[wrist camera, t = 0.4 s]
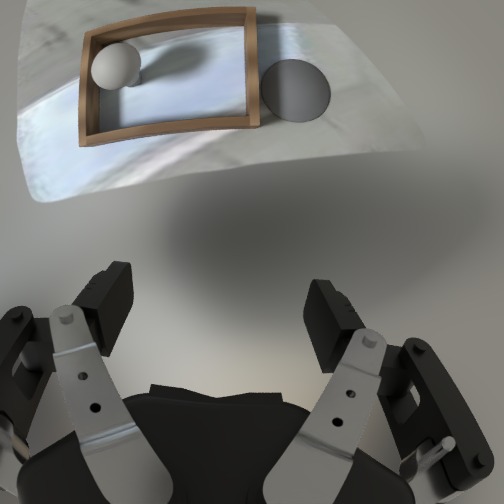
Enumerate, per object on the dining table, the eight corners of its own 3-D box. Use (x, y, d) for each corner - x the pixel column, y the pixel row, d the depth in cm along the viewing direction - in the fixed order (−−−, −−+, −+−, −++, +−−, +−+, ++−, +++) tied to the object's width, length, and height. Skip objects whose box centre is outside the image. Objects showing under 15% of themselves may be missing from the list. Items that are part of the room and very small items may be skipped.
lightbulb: (108, 84, 30) (74, 66, 20) (138, 55, 29) (112, 27, 19) (132, 108, 32) (101, 94, 22) (163, 78, 31) (143, 53, 21)
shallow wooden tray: (96, 41, 26) (85, 32, 22) (251, 20, 29) (255, 7, 25) (92, 146, 33) (79, 146, 29) (255, 128, 35) (259, 125, 31)
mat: (260, 58, 31) (260, 57, 31) (326, 63, 32) (327, 63, 32) (262, 121, 35) (262, 121, 34) (329, 124, 36) (330, 124, 35)
